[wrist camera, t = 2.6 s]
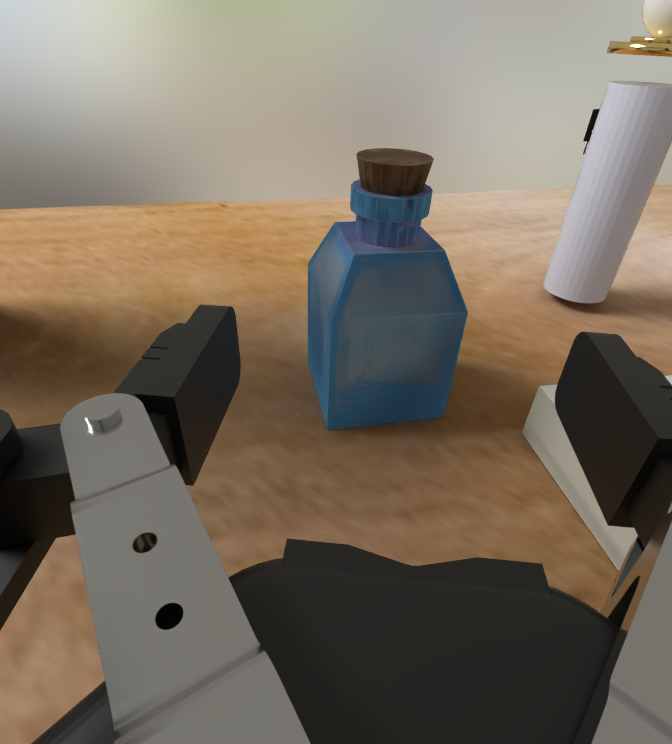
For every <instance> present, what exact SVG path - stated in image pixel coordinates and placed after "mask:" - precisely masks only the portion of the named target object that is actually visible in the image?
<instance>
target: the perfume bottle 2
mask: <svg viewBox="0 0 672 744" xmlns="http://www.w3.org/2000/svg"><path fill="white" fill-rule="evenodd" d="M642 19H643V24H644V26H645V28H646V30H647V31H648V33H649V34H650V35H652V36H653V37H631V40H630V42H616V41H611V42H610V44H609V47H608V50H607V53H617V54H633V55H651V56H668V57H670V56H671V57H672V0H644V3H643V7H642ZM592 130H593V132H592ZM584 141H587V144H588V147H587V144H586V147H587V150H586V147H585V150H586V153H585V150H584V153H585V156H584V159H583V162H582V165H581V168H580V171H579V174H578V177H577V180H576V184H575V187H574V190H573V193H572V196H571V199H570V202H569V205H568V208H567V211H566V214H565V217H564V221H563V224H562V227H561V230H560V233H559V236H558V239H557V242H556V245H555V248H554V251H553V254H552V258H551V261H550V264H549V267H548V270H547V273H546V276H545V279H544V282H543V286H544V288H545V289H546V290H547V291H548V292H550V293H551V294H553V295H555V296H557V297H560V298H562V299H565V300H569V301H573V302H579V303H598V302H602V301H604V300H605V299H606V297H607V295H608V293H609V290H610V288H611V286H612V283H613V281H614V278H615V276H616V274H617V271H618V269H619V267H620V264H621V262H622V259H623V257H624V255H625V252H626V250H627V247H628V245H629V243H630V240H631V238H632V236H633V233H634V231H635V228H636V226H637V224H638V221H639V219H640V216H641V214H642V212H643V209H644V207H645V205H646V202H647V200H648V197H649V195H650V193H651V190H652V188H653V185H654V183H655V181H656V178H657V176H658V174H659V171H660V169H661V166H662V164H663V162H664V159H665V157H666V154H667V152H668V149H669V147H670V145H671V142H672V84H663V83H651V82H636V81H609V83H608V85H607V88H606V91H605V94H604V97H603V101H602V103H601V107H600V109H594V110H593V113H592V116H591V119H590V122H589V125H588V128H587V132H586V135H585V138H584ZM588 142H589V143H588ZM584 153H583V154H584Z"/></svg>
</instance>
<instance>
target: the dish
mask: <svg viewBox="0 0 672 744" xmlns="http://www.w3.org/2000/svg"><path fill="white" fill-rule="evenodd" d="M665 377H666V379H667V380H668V381H669V382H670V383H671V385H672V375H671V376H665ZM557 385H558V384H557ZM557 385H544V386H539V388H538V390H537V393H536V396H535V398H534V401H533V404H532V407H531V409H530V412H529V415H528V417H527V420H526V423H525V425H524V428H523V431H522V434H523V436H524V437H525V438H526V440H527V441H528V443H529V444H530V446H531V447H532V448H533V450H534V451H535V453H536V454H537V456H538V457H539V458H540V460H541V461H542V463H543V464H544V466H545V467H546V468H547V470H548V471H549V473H550V474H551V476H552V477H553V478H554V480H555V481H556V483H557V484H558V486H559V487H560V488H561V490H562V491H563V493H564V494H565V496H566V497H567V498H568V500H569V501H570V503H571V504H572V506H573V507H574V508H575V510H576V511H577V513H578V514H579V516H580V517H581V518H582V520H583V521H584V523H585V524H586V526H587V527H588V528H589V530H590V531H591V533H592V534H593V536H594V537H595V538H596V540H597V541H598V543H599V544H600V546H601V547H602V548H603V550H604V551H605V553H606V554H607V556H608V557H609V558H610V560H611V561H612V563H613V564H614V566H615V567H616V568H617V570H618V571H619V570H620V568H621V566H622V564H623V562H624V559H625V557H626V555H627V553H628V551H629V548H630V546H631V545H632V543H633V542H634V540H635V539H636V537H637V533H636V531H635V529H634V528H629V527H618V526H608V525H607V522H606V520H605V518H604V516H603V514H602V511H601V509H600V507H599V505H598V503H597V500H596V498H595V496H594V494H593V492H592V489H591V487H590V485H589V483H588V481H587V478H586V476H585V474H584V472H583V470H582V467H581V465H580V463H579V461H578V459H577V456H576V454H575V452H574V450H573V448H572V445H571V443H570V441H569V439H568V437H567V434H566V432H565V430H564V428H563V426H562V423H561V421H560V419H559V417H558V415H557V412H556V408H555V392H556V388H557Z"/></svg>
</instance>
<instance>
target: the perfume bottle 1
mask: <svg viewBox="0 0 672 744" xmlns="http://www.w3.org/2000/svg"><path fill="white" fill-rule="evenodd" d="M357 160H358V168H359V176H360V179H359V180H357V181H354V182H353V184H351V201H350V208H351V211H352V212H354V213H355V214H356V222H335V223H334V224H333V226H332V227H331V229H330V230H329V232H328V233H327V235H326V236H325V238H324V240H323V241H322V243H321V244H320V246H319V247H318V249H317V250H316V252H315V253H314V255H313V256H312V258H311V260H310V261H309V263H308V363H309V366H310V370H311V373H312V377H313V381H314V384H315V388H316V392H317V395H318V399H319V402H320V406H321V410H322V413H323V417H324V421H325V424H326V428H327V430H334V429H343V428H351V427H360V426H369V425H378V424H387V423H395V422H404V421H413V420H422V419H430V418H439V417H444V414H445V410H446V405H447V401H448V397H449V392H450V388H451V384H452V379H453V375H454V371H455V366H456V362H457V358H458V353H459V349H460V345H461V340H462V336H463V332H464V327H465V323H466V319H467V314H468V311H467V309H466V306H465V303H464V301H463V298H462V295H461V292H460V290H459V287H458V284H457V282H456V279H455V276H454V274H453V271H452V268H451V265H450V263H449V260H448V257H447V255H446V252H445V250H444V249H443V248H442V247H441V246H440V245H439V244H438V243H437V242H436V241H435V240H434V239H433V238H432V237H431V236H430V235H429V234H428V233H427V232H426V231H425V230H424V229H423V228H422V227H421V226H420V225H421V219H424V218H425V217H427V216H428V214H429V210H430V203H431V197H432V189H431V187H430V186H428V185H426V184H425V182H426V179H427V177H428V174H429V171H430V168H431V165H432V162H433V160H434V159H433V158H432V156H430V155H427V154H424V153H421V152H417V151H411V150H404V149H390V148H388V149H387V148H379V149H367V150H363V151H359V152H358V153H357Z"/></svg>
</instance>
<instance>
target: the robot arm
mask: <svg viewBox="0 0 672 744" xmlns="http://www.w3.org/2000/svg"><path fill="white" fill-rule="evenodd" d="M240 367H241V365H240V353H239V344H238V334H237V325H236V316H235V312H234V309H233V308H232V307H229V306H215V305H199V306H198V308H197V309H196V310H195V312H194V313H193V315H192V316H191V317H190V319H189V320H188V321H187V323H186V324H182V323H177V324H175V325H174V326H172V327H171V328H169V329H167V330H166V331H164V332H162V333H161V334H160V335H159V336H158V337H157V339H156V340H155V341H154V342H153V344H152V345H151V346H150V349H148V350H147V351H146V353H145V354H144V355H143V356H142V360H139V361H138V363H137V364H136V365H135V366H134V368H133V369H132V370H131V372H130V373H129V374H128V375H127V377H126V378H125V379H124V380H123V382H122V383H121V384H120V386H119V387H118V388H117V389H116V391H115V392H114V393H111V394H104V395H99V396H96V397H93V398H90V399H87V400H85V401H83V402H81V403H79V404H77V405H76V406H75V407H73V408H72V409H71V410H70V411H69V412H67V414H66V415H65V416H64V417H63V419H62V421H61V423H60V424H54V425H46V426H39V427H32V428H24V429H16V427H15V425H14V423H13V421H12V419H11V417H10V415H9V414H8V413H6V412H5V411H3V410H0V630H1V628H2V627H3V625H4V623H5V622H6V620H7V618H8V617H9V615H10V613H11V612H12V610H13V608H14V607H15V605H16V603H17V602H18V600H19V598H20V597H21V595H22V593H23V592H24V590H25V588H26V587H27V585H28V583H29V582H30V580H31V578H32V577H33V575H34V573H35V572H36V570H37V568H38V567H39V565H40V563H41V562H42V560H43V559H44V557H45V555H46V554H47V552H48V550H49V549H50V547H51V545H52V544H53V542H54V540H55V539H56V538H58V537H64V536H69V535H74V534H76V538H77V543H78V548H79V553H80V558H81V563H82V568H83V573H84V578H85V583H86V588H87V593H88V598H89V603H90V608H91V613H92V618H93V623H94V628H95V633H96V638H97V642H98V647H99V652H100V657H101V662H102V667H103V672H104V677H105V681H104V682H103V683H101V684H100V685H99V686H98V687H97V688H96V689H94V690H93V691H92V692H91V693H90V694H89V695H87V696H86V697H85V698H84V699H83V700H82V701H80V702H79V703H78V704H77V705H76V706H75V707H73V708H72V709H71V710H70V711H69V712H68V713H66V714H65V715H64V716H63V717H62V718H61V719H59V720H58V721H57V722H56V723H55V724H54V725H52V726H51V727H50V728H49V729H48V730H47V731H45V732H44V733H43V734H42V735H41V736H40V737H38V738H37V739H36V740H35V741H34V742H33V743H31V744H672V385H671V383H670V382H669V381H668V380H667V379H666V377H665V376H664V375H663V374H662V373H661V371H659V370H658V369H656V368H655V367H653V366H652V365H650V364H649V363H647V362H646V361H645V360H643V359H642V358H640V357H636V356H635V354H634V353H633V352H632V351H631V349H630V348H629V347H628V345H627V344H626V343H625V342H624V340H623V339H622V338H621V337H620V336H619V335H617V334H607V333H592V332H581V333H579V334H578V335H577V336H576V338H575V340H574V342H573V345H572V347H571V350H570V353H569V355H568V358H567V361H566V363H565V366H564V369H563V371H562V374H561V377H560V379H559V382H558V385H557V388H556V392H555V408H556V412H557V415H558V417H559V419H560V421H561V423H562V426H563V428H564V430H565V432H566V434H567V437H568V439H569V441H570V443H571V445H572V448H573V450H574V452H575V454H576V456H577V459H578V461H579V463H580V465H581V467H582V470H583V472H584V474H585V476H586V478H587V481H588V483H589V485H590V487H591V489H592V492H593V494H594V496H595V498H596V500H597V503H598V505H599V507H600V509H601V511H602V514H603V516H604V518H605V520H606V522H607V525H608V526H618V527H629V528H634V529H635V531H636V533H637V537H636V539H635V540H634V542H633V543H632V545H631V546H630V548H629V551H628V553H627V555H626V557H625V559H624V562H623V564H622V566H621V568H620V570H619V573H618V575H617V577H616V579H615V581H614V584H613V586H612V588H611V590H610V592H609V595H608V597H607V599H606V601H605V603H604V606H603V608H602V610H601V612H600V613H599V612H598V611H596V610H595V609H593V608H592V607H590V606H589V605H587V604H586V603H584V602H582V601H580V600H578V599H577V598H575V597H573V596H571V595H569V594H567V593H564V592H562V591H560V590H558V589H556V588H553V587H550V586H548V583H547V579H546V576H545V573H544V569H543V566H542V564H539V563H529V562H518V561H508V560H498V559H488V558H471V559H464V560H457V561H450V562H443V563H436V564H429V565H422V566H410V565H406V564H403V563H400V562H398V561H395V560H392V559H389V558H386V557H383V556H380V555H377V554H374V553H371V552H368V551H365V550H362V549H359V548H356V547H353V546H350V545H346V544H336V543H325V542H315V541H305V540H295V539H287V541H286V546H285V551H284V556H283V558H281V559H274V560H270V561H266V562H262V563H258V564H256V565H253V566H251V567H248V568H246V569H243V570H241V571H239V572H238V573H236V574H234V575H232V576H230V577H228V576H227V574H226V572H225V570H224V567H223V565H222V563H221V561H220V559H219V557H218V555H217V552H216V550H215V548H214V546H213V544H212V542H211V539H210V537H209V535H208V533H207V531H206V529H205V526H204V524H203V522H202V520H201V518H200V516H199V513H198V511H197V509H196V507H195V505H194V503H193V500H192V498H191V496H190V494H189V492H188V490H187V488H186V485H194V483H195V481H196V479H197V476H198V474H199V472H200V470H201V467H202V465H203V463H204V461H205V458H206V456H207V454H208V452H209V449H210V447H211V445H212V443H213V440H214V438H215V436H216V433H217V431H218V429H219V427H220V424H221V422H222V420H223V418H224V415H225V413H226V411H227V409H228V406H229V404H230V402H231V400H232V397H233V395H234V393H235V391H236V388H237V386H238V383H239V378H240Z"/></svg>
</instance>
